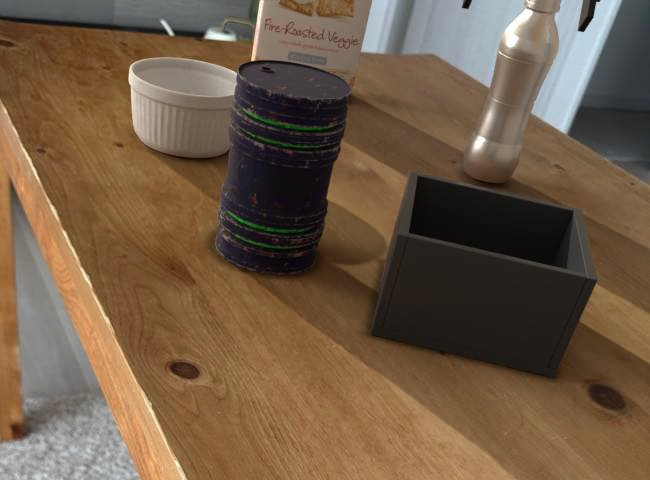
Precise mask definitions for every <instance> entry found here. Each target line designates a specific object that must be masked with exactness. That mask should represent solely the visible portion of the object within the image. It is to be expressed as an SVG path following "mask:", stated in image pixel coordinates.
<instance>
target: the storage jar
mask: <svg viewBox="0 0 650 480" xmlns="http://www.w3.org/2000/svg"><path fill="white" fill-rule="evenodd" d="M236 70H237V71H236V73H237V76H236V81H237V85H236V86H235V92H234V99H233V100H232V106H231V113H230V118H231V121H230V126H229V127H228V132H229V136H228V138H229V142H230V149H229V151H228V152H229V153H228V161H227V168H226V176H225V177H226V178H225V179H224V180H223V182H222V183H221V189H220V192H219V195H220V198H219V201H218V207H217V208H218V209H217V215H216V216H217V224H216V225H217V226H216V228H217V233H216V234H215V242H214V244H215V248H216V251H217V252H218V253H219V255H221V257H223V258H224V259H225V260H227V261H228V262H230V263H232V264H234V265H236V266H238V267H240V268H242V269H246V270H249V271H251V272H257V273H261V274H268V275H282V276H283V275H294V274H295V275H296V274H299V273H304V272H306V271H307V270H309V269H311V268H312V267H313V266H314V265H315V263H316V261H317V257H318V250H317V249H318V248H319V246H320V242H321V238H322V237H323V234H324V231H325V224H326V217H327V215H328V212H329V211H328V209H329V208H328V207H329V200H328V198H327V197H328V192H329V188H330V184H331V178H332V174H333V168H334V165H335V163H336V161H337V160H338V159H339V155H340V153H341V151H342V146H341V145H342V140H343V138H344V136H345V131H346V127H347V120H346V119H347V117H348V116H347V115H348V111H349V106H348V104H349V103H350V101H351V98H352V93H353V89H352V87H351V86H350V84H349V83H348V82H347V81H345V80H344V79H343V78H341V77H339V76H337V75H335V74H333V73H331V72H328V71H325V70H322V69H319V68H316V67H312V66H309V65H304V64H300V63H294V62H288V61H279V60H255V61H251V60H249V61H245V62H243V63H241V64H239V65H238V67H237V69H236ZM351 92H352V93H351Z"/></svg>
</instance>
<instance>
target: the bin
mask: <svg viewBox="0 0 650 480" xmlns="http://www.w3.org/2000/svg"><path fill="white" fill-rule="evenodd" d="M589 240H590V239H589V236H588V233H587V228H586V223H585V218H584V214H583V211H582V209H580V208H575V207H571V206H567V205H563V204H560V203H559V204H558V203H555V202H550V201H545V200H541V199H536V198H531V197H528V196H523V195H519V194H514V193H509V192H505V191H500V190H496V189H492V188H487V187H484V186H479V185H474V184H469V183H466V182H461V181H456V180H452V179H449V178H444V177H440V176H435V175H430V174H426V173H421V172H417V171H413V170H409V172H408V176H407V179H406V183H405V187H404V191H403V194H402V198H401V202H400V206H399V209H398V213H397V217H396V220H395V223H394V228H393V231H392V235H391V239H390V242H389V246H388V250H387V252H386V253H387V254H386V257H385V261H384V265H383V269H382V270H383V271H382V275H381V280H380V286H379V291H378V294H377V300H376V304H375V311H374V315H373V321H372V325H371V329H370V336H371V335H372V336H374V337H375V336H376V337H379V338H384V339H388V340H391V341H396V342H401V343H406V344H408V345H409V344H410V345H414V346H418V347H422V348H426V349H431V350H435V351H439V352H444V353H448V354H451V355H456V356H461V357H465V358H469V359H472V360H478V361H481V362H485V363H490V364H494V365H498V366H503V367H506V368H511V369H514V370H519V371H524V372H528V373H532V374H537V375H540V376H544V377H548V378H549V377H550V378H555V375H556V373H557V371H558V368H559V366H560V364H561V362H562V360H563V358H564V356H565V354H566V351H567V349H568V347H569V344H570V342H571V340H572V338H573V336H574V333H575V331H576V329H577V326H578V324H579V323H580V320H581V318H582V315H583V313H584V311H585V310H586V307H587V305H588V303H589V300H590V298H591V296H592V294H593V291H594V289H595V287H596V286H597V285H596V284H597V283H598V276H597V272H596V267H595V262H594V259H593V255H592V250H591V245H590V241H589Z"/></svg>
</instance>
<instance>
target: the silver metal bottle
mask: <svg viewBox="0 0 650 480" xmlns="http://www.w3.org/2000/svg"><path fill="white" fill-rule="evenodd" d="M562 1H563V0H524V2H523V5H524V6H525V7H524V10H523V11H522V12H521V13H520V14H519V15H518V16H517V17H516V18H515V19H513V20H512V21H511V22H510V23H509V25H507V27H506V28H505V29H504V31H503V32H502V34H501V37H500V39H499V43H498V49H497V53H496V59H495V63H494V69H493V74H492V77H491V82H490V86H489V92H488V93H487V96H486V100H485V103H484V107H483V108H482V111H481V113H480V116H479V118H478V121H477V123H476V126H475V129H474V131H473V132H472V134H471V136H470V138H469V140H468V141H467V144H466V146H465V148H464V152H463V159H462V166H463V170H464V172H465V173H466V174H467V175H468V176H470V177H471V178H474V179H475V180H478V181H482V182H486V183H492V184H501V183H505V182H507V181H509V179H510V178H511V177H513V175H514V173H515V171H516V170H517V168H518V166H519V164H520V160H521V155H522V151H523V142H524V138H525V135H526V131H527V127H528V124H529V120H530V117H531V114H532V110H533V108H534V106H535V102H536V101H537V98H538V96H539V93H540V91H541V88H542V86H543V84H544V82H545V80H546V78H547V76H548V74H549V73H550V70H551V68H552V66H553V64H554V61H555V60H556V58H557V55H558V53H559V50H560V49H559V48H560V37H559V30H558V26H557V23H556V19H555V18H556V13H559V12H560V10H561V4H562Z"/></svg>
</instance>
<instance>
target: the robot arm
mask: <svg viewBox="0 0 650 480" xmlns="http://www.w3.org/2000/svg"><path fill="white" fill-rule="evenodd" d="M472 1H473V0H462V6H461V9H465V10H469V9H470V6H471V4H472ZM600 2H601V0H582V4H581V10H580V15H579V21H578V26H577V32H580V33H585V32H586V30H587V29H588V27H589V26H590V24H591V22H592V21H593V19H594V17H595V11H596V6H597V3H600Z"/></svg>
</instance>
